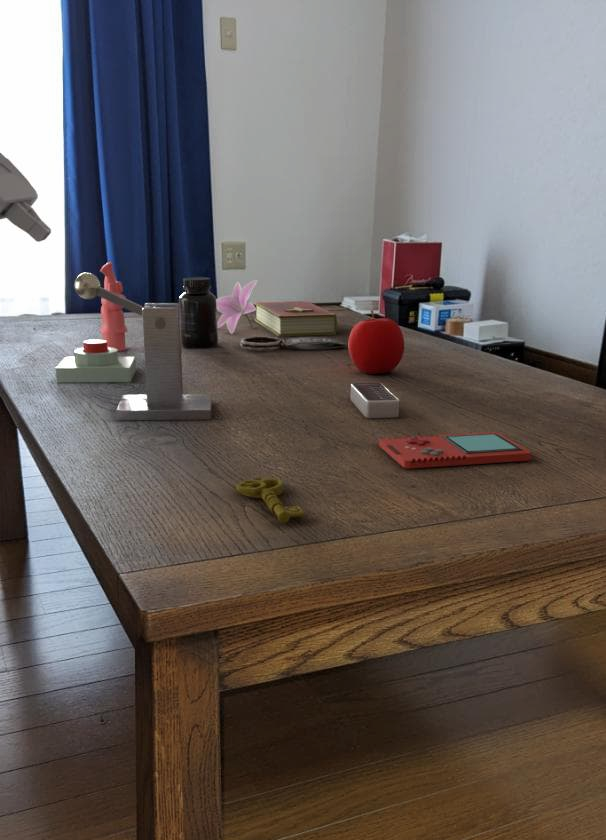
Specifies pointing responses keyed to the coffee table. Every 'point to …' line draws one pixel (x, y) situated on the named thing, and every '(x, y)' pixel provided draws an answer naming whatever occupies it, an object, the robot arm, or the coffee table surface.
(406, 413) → the coffee table surface
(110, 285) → the figurine
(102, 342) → the button
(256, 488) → the key
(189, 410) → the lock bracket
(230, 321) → the lily
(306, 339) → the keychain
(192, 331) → the supplement bottle
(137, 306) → the lock lever
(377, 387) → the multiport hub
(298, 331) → the book
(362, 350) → the fruit
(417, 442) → the handheld gaming console
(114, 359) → the box
